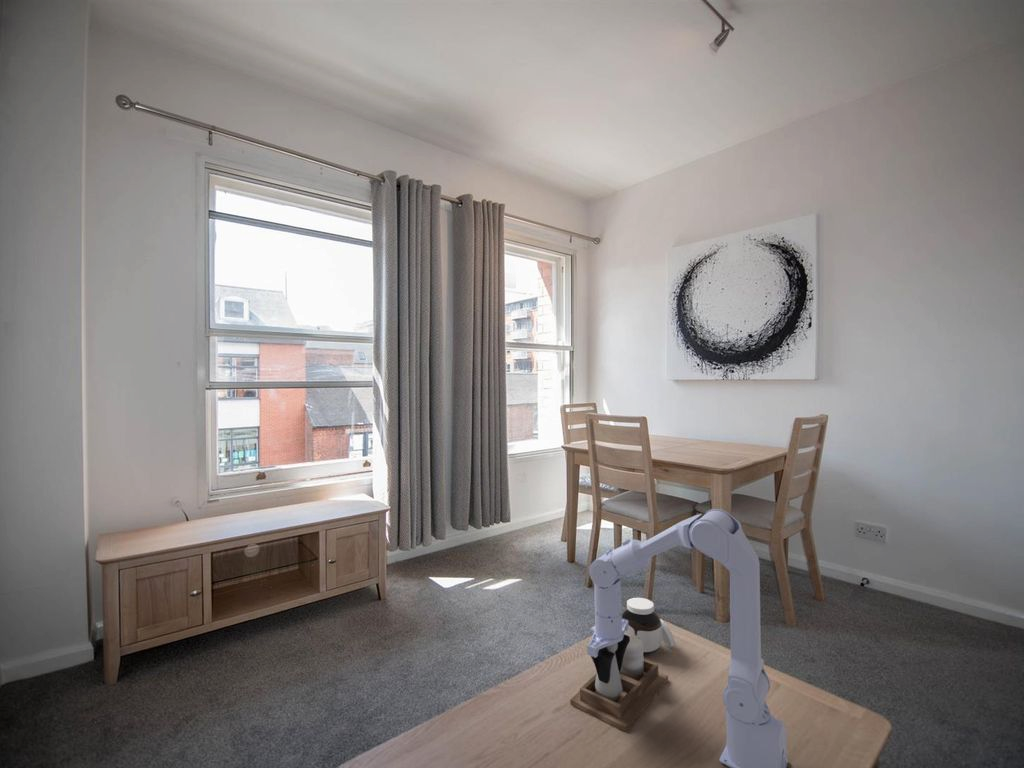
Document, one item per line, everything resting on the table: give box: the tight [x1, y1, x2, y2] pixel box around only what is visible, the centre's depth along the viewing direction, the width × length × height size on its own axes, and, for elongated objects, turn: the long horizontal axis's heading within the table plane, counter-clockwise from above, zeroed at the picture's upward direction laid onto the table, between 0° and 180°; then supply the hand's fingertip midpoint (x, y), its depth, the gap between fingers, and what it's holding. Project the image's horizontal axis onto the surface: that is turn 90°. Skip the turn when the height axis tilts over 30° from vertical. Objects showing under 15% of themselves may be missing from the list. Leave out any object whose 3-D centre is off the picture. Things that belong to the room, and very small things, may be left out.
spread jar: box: [622, 597, 676, 657], centre depth 122 cm, size 12×11×12 cm
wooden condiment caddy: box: [569, 636, 669, 733], centre depth 104 cm, size 13×21×9 cm, turn 139°
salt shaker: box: [595, 643, 623, 703], centre depth 101 cm, size 6×6×13 cm
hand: (609, 675), depth 101 cm, fingers open, 5 cm apart
